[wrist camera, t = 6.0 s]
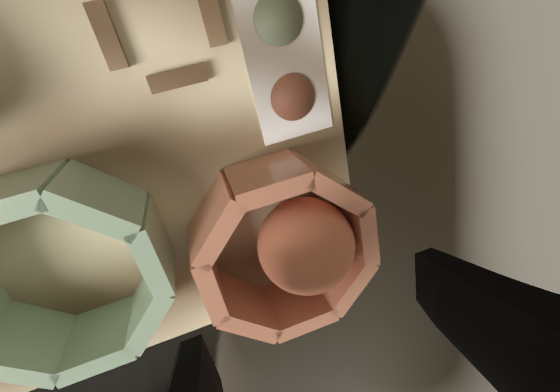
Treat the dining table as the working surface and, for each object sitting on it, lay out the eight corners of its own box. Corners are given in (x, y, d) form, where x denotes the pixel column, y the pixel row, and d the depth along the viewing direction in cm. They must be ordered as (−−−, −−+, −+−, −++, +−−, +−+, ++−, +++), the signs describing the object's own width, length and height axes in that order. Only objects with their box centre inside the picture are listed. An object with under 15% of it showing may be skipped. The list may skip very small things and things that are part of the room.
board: (353, 260, 19) (364, 272, 18) (4, 387, 16) (-8, 411, 15) (293, -188, 11) (306, -213, 10) (-434, -96, 8) (-528, -119, 7)
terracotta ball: (310, 243, 17) (379, 272, 15) (251, 290, 15) (318, 335, 12) (295, 173, 16) (370, 190, 13) (226, 215, 14) (297, 247, 11)
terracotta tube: (352, 264, 18) (384, 302, 15) (220, 313, 17) (228, 363, 14) (335, 134, 15) (370, 153, 12) (169, 183, 14) (168, 217, 11)
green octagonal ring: (191, 288, 16) (194, 337, 13) (25, 347, 15) (-8, 413, 12) (128, 141, 12) (116, 166, 10) (-91, 200, 11) (-172, 247, 9)
